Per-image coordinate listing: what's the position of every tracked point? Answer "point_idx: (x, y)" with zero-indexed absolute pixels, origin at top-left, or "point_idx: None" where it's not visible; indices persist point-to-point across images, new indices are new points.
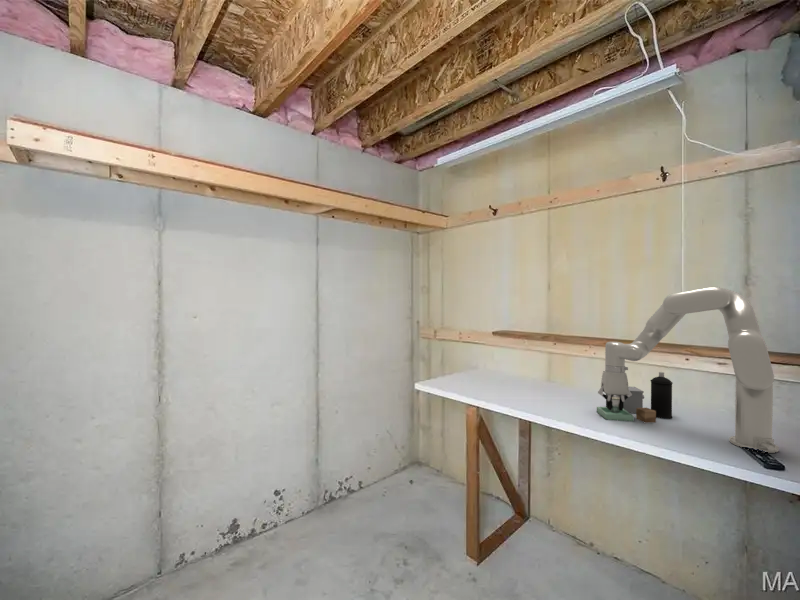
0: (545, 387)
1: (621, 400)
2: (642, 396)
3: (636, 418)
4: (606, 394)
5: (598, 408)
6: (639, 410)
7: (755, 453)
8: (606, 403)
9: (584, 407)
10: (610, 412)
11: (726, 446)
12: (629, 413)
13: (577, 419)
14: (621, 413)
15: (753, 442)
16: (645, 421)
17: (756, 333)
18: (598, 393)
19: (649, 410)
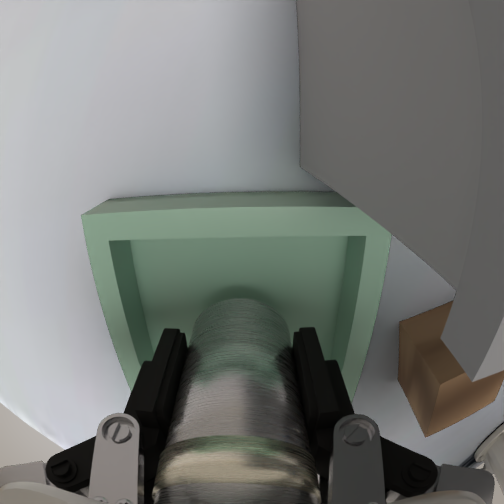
0: None
1: (320, 468)
2: None
3: (400, 325)
4: (103, 493)
5: (94, 266)
6: (429, 399)
7: (467, 463)
8: (137, 396)
9: (43, 78)
10: (232, 237)
11: (453, 461)
12: (353, 377)
13: (21, 376)
14: (340, 250)
15: (488, 464)
16: (403, 384)
17: None
18: (12, 477)
19: (472, 406)
